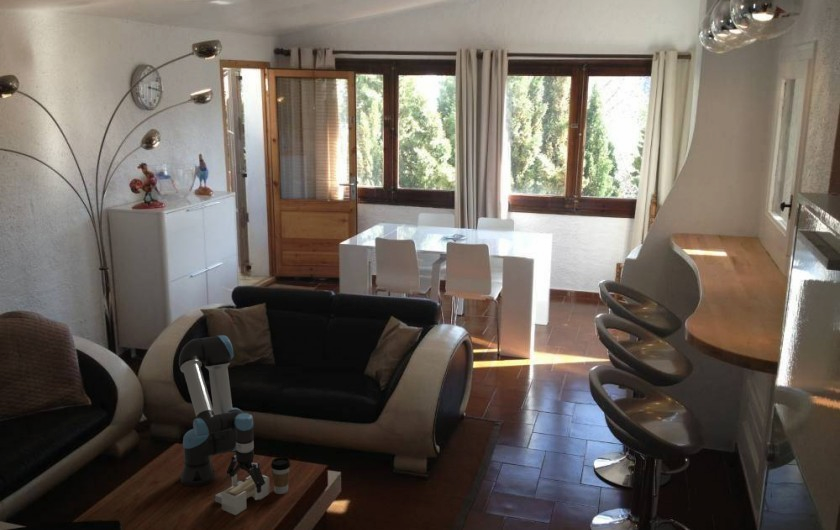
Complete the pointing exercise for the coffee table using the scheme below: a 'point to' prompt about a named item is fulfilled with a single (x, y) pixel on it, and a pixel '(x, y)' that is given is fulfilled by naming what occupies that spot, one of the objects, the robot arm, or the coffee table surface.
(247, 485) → the rail
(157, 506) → the coffee table surface
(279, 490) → the coffee cup
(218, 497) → the rest blocks
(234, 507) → the bracket pair
